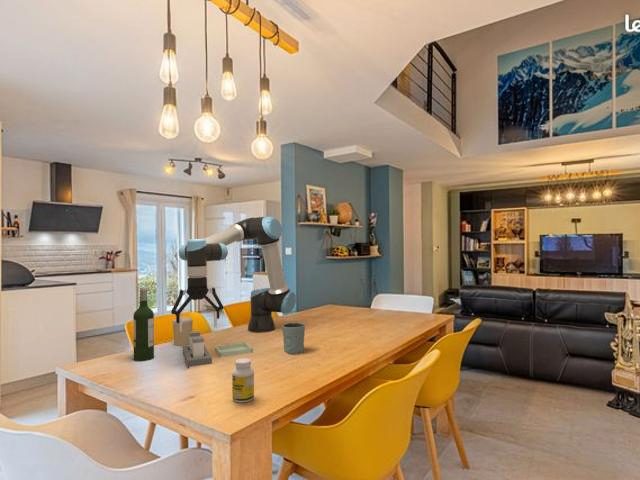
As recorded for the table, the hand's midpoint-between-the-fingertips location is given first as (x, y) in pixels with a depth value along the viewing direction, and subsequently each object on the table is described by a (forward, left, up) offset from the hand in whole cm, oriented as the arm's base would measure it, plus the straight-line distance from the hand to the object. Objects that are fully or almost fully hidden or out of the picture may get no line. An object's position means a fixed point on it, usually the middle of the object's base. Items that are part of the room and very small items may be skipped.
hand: (198, 329), depth 151 cm
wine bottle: (+20, -17, -14) cm, 30 cm away
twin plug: (0, -12, -14) cm, 18 cm away
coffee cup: (+3, -35, -14) cm, 38 cm away
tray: (-16, -8, -14) cm, 22 cm away
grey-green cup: (-40, +4, -14) cm, 42 cm away
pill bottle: (-8, +45, -14) cm, 48 cm away
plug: (0, 0, -14) cm, 14 cm away
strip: (0, -6, -14) cm, 15 cm away
